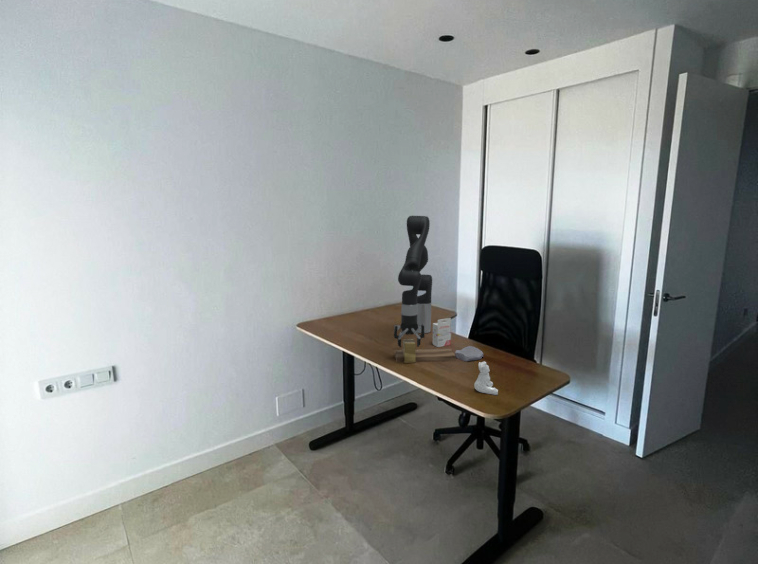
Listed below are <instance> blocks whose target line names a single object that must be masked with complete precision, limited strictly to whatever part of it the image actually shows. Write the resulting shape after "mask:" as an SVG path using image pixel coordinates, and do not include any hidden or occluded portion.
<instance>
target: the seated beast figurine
mask: <svg viewBox="0 0 758 564" xmlns="http://www.w3.org/2000/svg"><path fill="white" fill-rule="evenodd" d="M478 371H479V373H478V376H477V379H476V380H475V382H474V383H473V385H474V386H473V387H474V389H475V390H476V391H477V392H479V393H482V394H488V395H493V396H498V395H499V389H497V388H496V387H493V386H494V383H493V381H491V376H490V371H491V370H490V366H489V365H488V364H487V362H486V361H485V360H484V361H482V362H480V361H479V362H478Z"/></svg>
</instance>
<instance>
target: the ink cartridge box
mask: <svg viewBox="0 0 758 564" xmlns="http://www.w3.org/2000/svg"><path fill="white" fill-rule="evenodd" d="M451 343H452V318H451V317H448V318H441V319H437V322H433V323H432V345H433V346H434V347H437V348H441V347H446V346H450V345H452V344H451Z"/></svg>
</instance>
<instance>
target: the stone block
mask: <svg viewBox="0 0 758 564" xmlns="http://www.w3.org/2000/svg"><path fill="white" fill-rule="evenodd" d="M454 354H455V355H456V359H457V360H461V361H463V362H471V361H478V360H481V359H483V358H484V352H483V351H482V350H481V349H479V348H478V347H475V346H472V345H468V346H466V347H463V348H462V349H457V350H455V352H454ZM482 357H483V358H482Z"/></svg>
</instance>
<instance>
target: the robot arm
mask: <svg viewBox="0 0 758 564" xmlns="http://www.w3.org/2000/svg"><path fill="white" fill-rule="evenodd" d="M430 222H431V221H430V218H429V217H428V215H409V216H408V217H407V219H406V231H407V237H408V241H409V248H408V249H407V251H406V256H405V261H404V264H403V266H402V268H401V269H400V271H399V273H398V276H397V280H398V283H399V284H400V285H401V286H405V287H406V286H407V287H412V289H407V290H404V291H403V292H402V293H401V310H400V311H401V313H400V315H401V316H400V317H401V318H400V319H401V321H400V325H397V324H394V327H393V338H394V339H397V346H398V347H399V348H402V338H403V337H404V336H405V335H406V336H407V335H411V336H412V335H414V336H416V337H417V338H416V347H420V346H421V339H424V338H425V334H428V333H430V332H431V331H432V322H431V321H432V289H433V276H432V275H431V274H421V271H422V270H423V269H424V268H425V267H426V266H427V264H428V262H429V251H428V248H427V246H426V245H425V244H426V241H427V237H428V234H429V232H430V224H431V223H430ZM417 235H419V237H418V236H417ZM420 291H422V292H424V293H423V294H421V295H418V292H420ZM399 330H401V331H400V332H399V334H398V331H399Z"/></svg>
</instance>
